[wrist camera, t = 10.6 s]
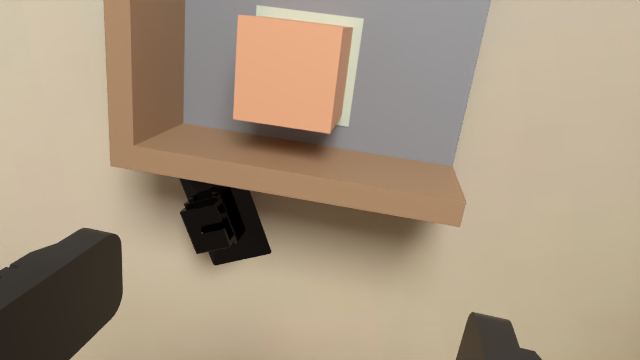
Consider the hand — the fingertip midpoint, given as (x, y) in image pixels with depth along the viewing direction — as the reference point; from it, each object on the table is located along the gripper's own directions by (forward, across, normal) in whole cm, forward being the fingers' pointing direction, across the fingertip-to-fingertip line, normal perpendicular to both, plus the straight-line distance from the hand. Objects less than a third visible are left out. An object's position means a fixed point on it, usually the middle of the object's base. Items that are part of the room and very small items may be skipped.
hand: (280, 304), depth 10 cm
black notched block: (+25, +11, +10) cm, 29 cm away
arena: (+24, +5, -4) cm, 25 cm away
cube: (+23, +5, -3) cm, 24 cm away
